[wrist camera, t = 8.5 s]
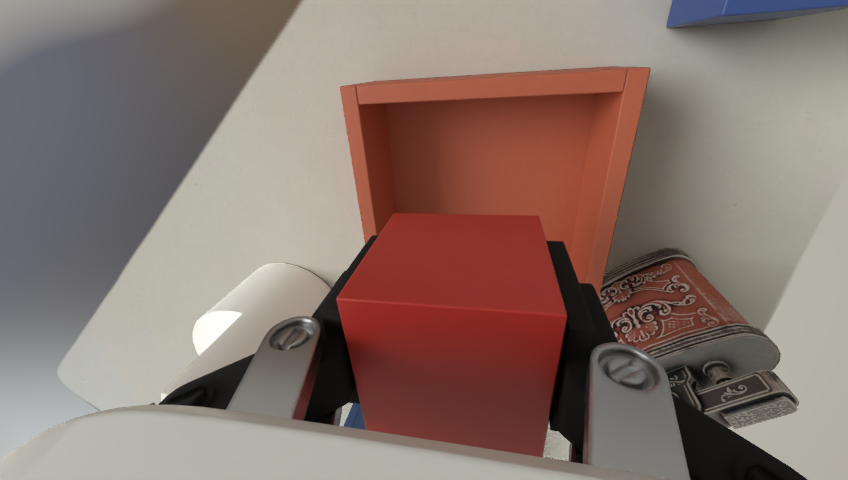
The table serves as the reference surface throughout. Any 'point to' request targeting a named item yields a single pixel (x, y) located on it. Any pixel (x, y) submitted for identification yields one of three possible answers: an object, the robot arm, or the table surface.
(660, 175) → the table surface
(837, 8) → the blue block
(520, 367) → the red block
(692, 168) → the table surface
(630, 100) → the terracotta bin
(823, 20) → the table surface
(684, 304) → the lighter
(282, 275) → the cylinder with rectangular tab
